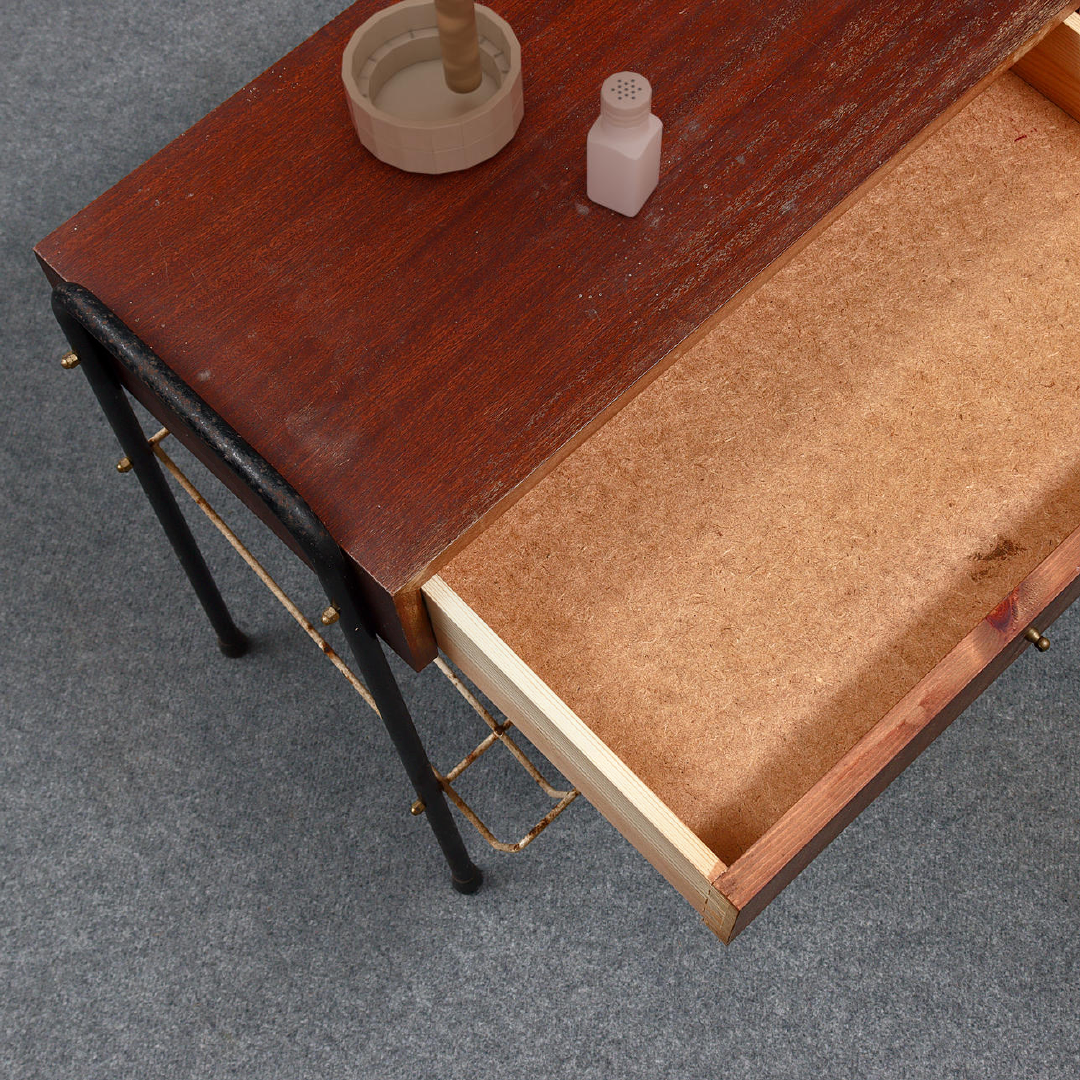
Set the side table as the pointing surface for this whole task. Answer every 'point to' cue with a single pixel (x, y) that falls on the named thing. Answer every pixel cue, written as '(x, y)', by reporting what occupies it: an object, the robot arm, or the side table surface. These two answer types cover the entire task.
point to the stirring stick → (459, 44)
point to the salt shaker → (624, 145)
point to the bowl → (430, 90)
